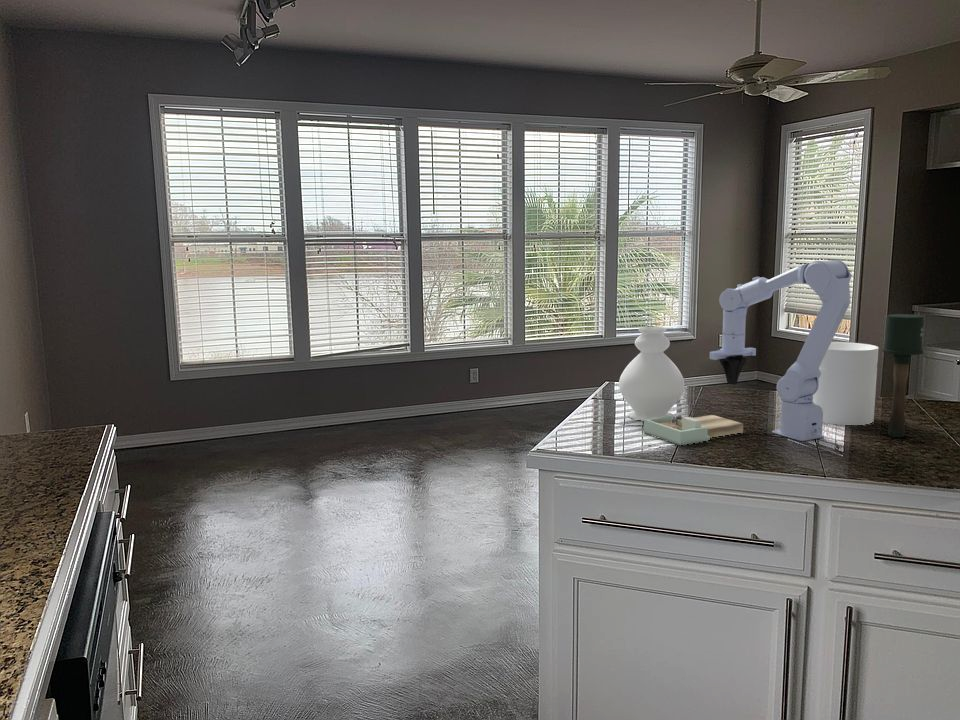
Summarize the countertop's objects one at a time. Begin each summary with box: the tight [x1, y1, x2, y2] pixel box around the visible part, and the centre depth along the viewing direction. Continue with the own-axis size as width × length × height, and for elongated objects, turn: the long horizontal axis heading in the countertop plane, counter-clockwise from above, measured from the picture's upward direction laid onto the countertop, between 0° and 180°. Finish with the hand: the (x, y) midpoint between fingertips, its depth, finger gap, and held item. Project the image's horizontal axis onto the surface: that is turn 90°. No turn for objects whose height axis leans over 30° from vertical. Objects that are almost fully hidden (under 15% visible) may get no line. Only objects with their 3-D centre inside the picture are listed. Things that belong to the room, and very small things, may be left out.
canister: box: [813, 341, 880, 426], centre depth 198 cm, size 16×16×20 cm
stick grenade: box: [881, 313, 925, 439], centre depth 179 cm, size 8×9×30 cm
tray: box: [643, 416, 711, 447], centre depth 184 cm, size 14×9×4 cm, turn 26°
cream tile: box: [681, 416, 701, 430], centre depth 182 cm, size 4×4×2 cm
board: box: [676, 414, 744, 439], centre depth 189 cm, size 11×12×2 cm
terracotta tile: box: [659, 422, 678, 429], centre depth 187 cm, size 4×4×2 cm
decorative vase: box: [618, 326, 685, 422], centre depth 204 cm, size 18×18×25 cm
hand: (731, 383), depth 197 cm, fingers closed
